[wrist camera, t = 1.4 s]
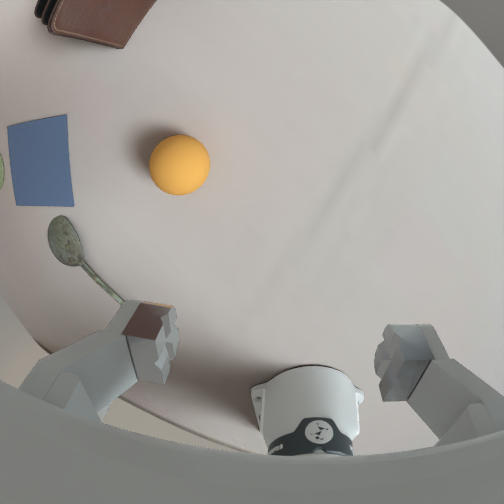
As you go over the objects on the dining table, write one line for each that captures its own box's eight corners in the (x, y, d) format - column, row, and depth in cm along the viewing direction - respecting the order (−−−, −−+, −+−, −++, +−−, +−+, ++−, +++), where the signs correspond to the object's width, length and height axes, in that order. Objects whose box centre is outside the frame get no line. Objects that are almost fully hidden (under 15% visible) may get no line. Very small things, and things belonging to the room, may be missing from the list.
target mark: (74, 206, 36) (73, 206, 35) (17, 204, 36) (16, 205, 36) (66, 114, 30) (65, 114, 30) (8, 126, 31) (7, 126, 31)
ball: (214, 187, 33) (201, 205, 28) (162, 185, 34) (140, 201, 28) (216, 132, 30) (202, 138, 25) (161, 132, 31) (138, 139, 25)
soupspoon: (64, 202, 37) (47, 229, 39) (49, 210, 34) (33, 239, 37) (169, 317, 43) (144, 334, 45) (161, 332, 40) (135, 348, 42)
